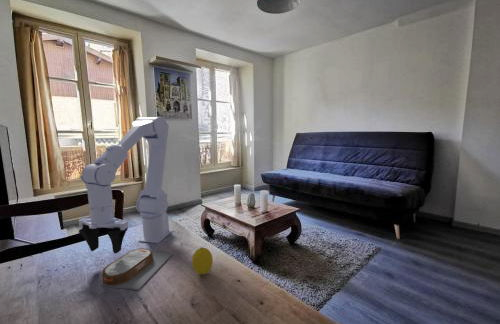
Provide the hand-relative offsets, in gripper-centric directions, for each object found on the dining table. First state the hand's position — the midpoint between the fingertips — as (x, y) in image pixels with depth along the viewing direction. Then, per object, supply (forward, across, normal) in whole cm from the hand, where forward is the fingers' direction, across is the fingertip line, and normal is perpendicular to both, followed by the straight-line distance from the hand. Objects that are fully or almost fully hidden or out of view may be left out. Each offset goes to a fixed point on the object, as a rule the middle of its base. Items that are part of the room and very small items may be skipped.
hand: (106, 250), depth 70 cm
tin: (+3, +4, 0) cm, 5 cm away
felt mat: (+5, +10, 0) cm, 12 cm away
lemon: (+5, +29, +1) cm, 30 cm away
